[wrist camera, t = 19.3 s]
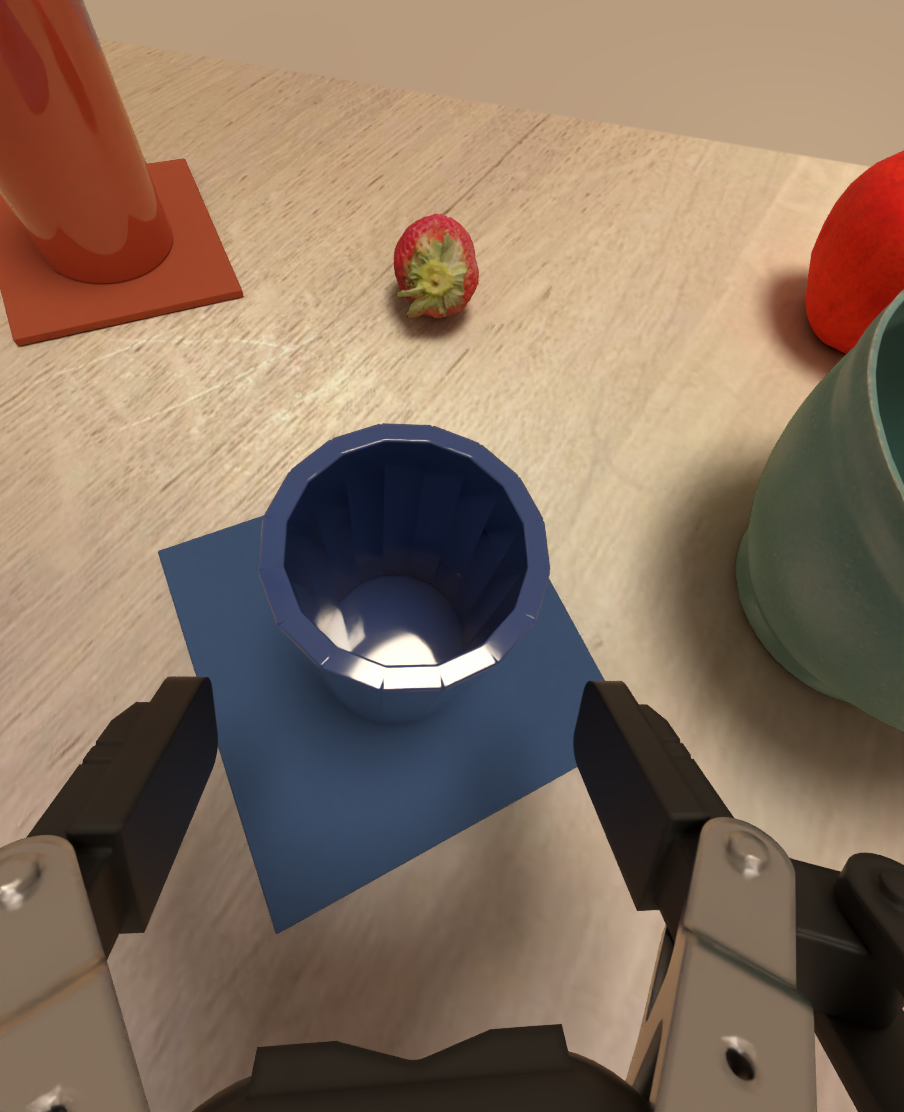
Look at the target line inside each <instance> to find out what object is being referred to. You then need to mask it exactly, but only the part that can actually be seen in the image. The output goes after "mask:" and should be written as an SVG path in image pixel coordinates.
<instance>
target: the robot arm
mask: <svg viewBox="0 0 904 1112" xmlns="http://www.w3.org/2000/svg"><path fill="white" fill-rule="evenodd" d="M217 748H218V731H217V723H216V715H215V706H214V698H213V690H212V683H211V680H210V679H209V677H167V678H166V679H165V680H164V682H163V683H162V685H161V686H160V688H159V689H158V691H157V692H156V694H155V695H154V697H153V698H152V700H151V701H150V702H136V703H134V704H133V705H132V706H130V707H129V708H128V709H126V710H125V711H124V712H122V713H121V714H120V715H118V716H117V717H115V718H114V719H113V720H111V722H110V723H109V725H108V726H107V727H106V729H105V730H104V731H103V733H102V734H101V736H100V737H99V738H98V740H97V741H96V745H95V746H93V747H92V748H91V749H90V751H89V752H88V753H87V755H86V756H85V758H84V759H83V763H82V765H79V766H78V767H77V769H76V770H75V771H74V773H73V774H72V775H71V777H70V778H69V780H68V781H67V782H66V784H65V785H64V786H63V788H62V789H61V791H60V792H59V793H58V795H57V796H56V798H55V799H54V800H53V802H52V803H51V804H50V806H49V807H48V809H47V810H46V811H45V813H44V814H43V815H42V817H41V818H40V820H39V821H38V822H37V824H36V825H35V826H34V828H33V829H32V831H31V832H30V833H29V835H28V836H27V837H26V838H24V839H21V840H18V841H15V842H13V843H10V844H8V845H6V846H4V847H2V848H0V1112H150V1109H149V1106H148V1102H147V1099H146V1095H145V1092H144V1088H143V1085H142V1082H141V1078H140V1075H139V1071H138V1068H137V1064H136V1061H135V1057H134V1054H133V1050H132V1047H131V1043H130V1040H129V1036H128V1033H127V1030H126V1026H125V1023H124V1019H123V1016H122V1012H121V1009H120V1005H119V1002H118V998H117V995H116V991H115V988H114V984H113V981H112V978H111V974H110V971H109V967H108V964H107V959H108V957H109V955H110V953H111V950H112V948H113V946H114V944H115V942H116V939H117V937H118V935H119V934H127V933H144V932H145V929H146V927H147V925H148V922H149V920H150V918H151V915H152V913H153V910H154V908H155V906H156V903H157V901H158V898H159V896H160V894H161V891H162V889H163V886H164V884H165V882H166V879H167V877H168V874H169V872H170V870H171V867H172V865H173V862H174V860H175V858H176V855H177V853H178V850H179V848H180V846H181V843H182V841H183V838H184V836H185V834H186V831H187V829H188V827H189V824H190V822H191V819H192V817H193V815H194V812H195V810H196V807H197V805H198V803H199V800H200V798H201V795H202V793H203V791H204V788H205V786H206V783H207V781H208V779H209V776H210V774H211V771H212V769H213V766H214V763H215V759H216V755H217ZM573 750H574V756H575V761H576V764H577V767H578V769H579V771H580V774H581V776H582V779H583V781H584V783H585V786H586V788H587V791H588V793H589V796H590V798H591V800H592V803H593V805H594V808H595V810H596V813H597V815H598V817H599V820H600V822H601V825H602V827H603V829H604V832H605V834H606V837H607V839H608V842H609V844H610V846H611V849H612V851H613V854H614V856H615V859H616V861H617V863H618V866H619V868H620V871H621V873H622V875H623V878H624V880H625V883H626V885H627V888H628V890H629V892H630V895H631V897H632V900H633V902H634V905H635V907H636V909H637V911H646V910H660V912H661V914H662V916H663V919H664V921H665V923H666V925H665V928H664V930H663V933H662V936H661V941H660V945H659V950H658V954H657V958H656V963H655V967H654V972H653V976H652V980H651V985H650V989H649V994H648V998H647V1002H646V1007H645V1011H644V1016H643V1020H642V1024H641V1029H640V1033H639V1037H638V1040H637V1044H636V1048H635V1051H634V1054H633V1057H632V1061H631V1064H630V1067H629V1071H628V1074H627V1078H626V1081H624V1080H623V1079H622V1078H620V1077H619V1076H618V1075H616V1074H615V1073H614V1072H612V1071H610V1070H609V1069H607V1068H605V1067H604V1066H602V1065H600V1064H599V1063H597V1062H595V1061H593V1060H591V1059H588V1058H586V1057H584V1056H581V1055H579V1054H576V1053H573V1052H569V1051H568V1049H567V1045H566V1041H565V1036H564V1032H563V1028H562V1024H555V1025H542V1026H528V1027H515V1028H502V1029H490V1030H488V1031H486V1032H483V1033H481V1034H479V1035H476V1036H474V1037H472V1038H469V1039H467V1040H465V1041H463V1042H460V1043H458V1044H456V1045H453V1046H451V1047H449V1048H446V1049H444V1050H442V1051H439V1052H437V1053H435V1054H432V1055H430V1056H428V1057H425V1058H423V1059H419V1060H407V1059H403V1058H399V1057H395V1056H391V1055H388V1054H384V1053H380V1052H376V1051H372V1050H368V1049H365V1048H361V1047H357V1046H353V1045H349V1044H345V1043H342V1042H338V1041H330V1042H317V1043H304V1044H291V1045H277V1046H264V1047H257V1050H256V1055H255V1061H254V1066H253V1071H252V1076H250V1077H248V1078H245V1079H243V1080H241V1081H238V1082H236V1083H234V1084H233V1085H231V1086H229V1087H227V1088H226V1089H224V1090H222V1091H220V1092H219V1093H217V1094H215V1095H214V1096H213V1097H211V1098H210V1099H208V1100H207V1101H206V1102H204V1103H203V1104H201V1105H200V1106H199V1107H197V1108H196V1109H195V1110H194V1111H192V1112H817V1095H816V1065H815V1036H814V1032H815V1034H816V1036H817V1038H818V1039H819V1041H820V1043H821V1045H822V1047H823V1049H824V1050H825V1052H826V1054H827V1056H828V1058H829V1059H830V1061H831V1063H832V1065H833V1067H834V1069H835V1070H836V1072H837V1074H838V1076H839V1078H840V1080H841V1081H842V1083H843V1085H844V1087H845V1089H846V1091H847V1092H848V1094H849V1096H850V1098H851V1100H852V1102H853V1103H854V1105H855V1107H856V1109H857V1111H858V1112H904V1011H903V1010H902V1008H903V1007H904V865H902V864H900V863H899V862H896V861H894V860H892V859H890V858H887V857H884V856H881V855H877V854H873V853H858V854H854V855H852V856H851V857H850V858H849V859H848V861H847V862H846V864H845V866H844V868H843V870H842V871H841V872H840V871H836V870H832V869H829V868H825V867H821V866H817V865H813V864H809V863H806V862H802V861H798V860H794V859H791V858H789V857H788V855H787V854H786V852H785V851H784V850H783V849H782V847H781V846H780V845H779V844H778V843H777V842H776V841H775V840H774V839H773V838H771V837H770V836H769V835H768V834H766V833H765V832H763V831H762V830H760V829H759V828H757V827H755V826H753V825H751V824H749V823H747V822H744V821H742V820H738V819H735V818H734V817H733V816H732V814H731V813H730V811H729V810H728V808H727V807H726V805H725V804H724V803H723V801H722V800H721V798H720V797H719V795H718V794H717V792H716V791H715V790H714V788H713V787H712V785H711V784H710V782H709V781H708V779H707V778H706V776H705V775H704V774H703V772H702V771H701V769H700V768H699V766H698V765H697V763H696V762H695V761H694V759H691V755H690V753H689V752H688V750H687V749H686V747H685V746H684V745H683V743H680V739H679V737H678V736H677V734H676V733H675V732H674V730H673V729H672V727H671V726H670V724H669V723H668V721H667V720H666V719H664V718H663V717H662V716H661V715H659V714H658V713H657V712H656V711H654V710H653V709H652V708H651V707H649V706H648V705H639V704H638V703H637V701H636V700H635V698H634V696H633V695H632V693H631V692H630V690H629V689H628V687H627V686H626V684H625V683H624V682H622V681H588V682H587V683H586V685H585V687H584V691H583V695H582V699H581V704H580V708H579V713H578V717H577V722H576V726H575V731H574V736H573Z"/></svg>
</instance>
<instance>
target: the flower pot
mask: <svg viewBox="0 0 904 1112" xmlns="http://www.w3.org/2000/svg"><path fill="white" fill-rule="evenodd" d="M736 582H737V588H738V593H739V597H740V600H741V604H742V607H743V610H744V612H745V614H746V617H747V619H748V621H749V623H750V625H751V626H752V628H753V630H754V632H755V634H756V635H757V637H758V638H759V640H760V641H761V643H762V644H763V645H764V647H765V648H766V649H767V650H768V652H769V653H770V654H771V655H772V656H773V657H774V659H775V660H776V661H777V662H778V663H779V664H780V665H781V666H783V667H784V668H785V669H786V670H787V671H788V672H790V673H791V674H792V675H793V676H795V677H796V678H797V679H799V680H800V681H801V682H803V683H804V684H806V685H808V686H809V687H811V688H813V689H814V690H816V691H818V692H820V693H822V694H825V695H827V696H829V697H832V698H835V699H838V700H841V701H845V702H849V703H851V704H852V705H854V706H856V707H857V708H859V709H860V710H862V711H864V712H865V713H867V714H869V715H871V716H872V717H874V718H876V719H878V720H880V721H882V722H883V723H885V724H887V725H889V726H891V727H893V728H895V729H897V730H900V731H902V732H904V290H902V291H901V292H900V293H899V294H898V295H897V296H896V298H895V299H894V300H893V301H892V302H891V303H890V304H889V305H888V306H887V307H886V308H885V309H884V310H883V311H882V312H881V313H880V314H879V315H878V316H877V317H876V318H875V319H874V321H873V322H872V323H871V324H870V325H869V326H868V328H867V329H866V330H865V332H864V333H863V335H862V336H861V338H860V339H859V341H858V342H857V344H856V346H855V347H854V348H852V349H851V350H850V351H849V352H848V353H847V354H846V355H845V356H844V357H843V358H842V359H841V360H840V361H839V362H838V363H837V364H836V365H835V366H834V367H833V368H832V369H831V370H830V371H829V372H828V374H827V375H826V376H825V377H824V378H823V379H822V380H821V381H820V383H819V384H818V385H817V386H816V387H815V388H814V389H813V391H812V392H811V393H810V394H809V396H808V397H807V398H806V399H805V401H804V402H803V403H802V405H801V406H800V407H799V409H798V410H797V412H796V413H795V414H794V416H793V417H792V419H791V420H790V422H789V423H788V425H787V426H786V428H785V430H784V431H783V433H782V435H781V436H780V438H779V440H778V442H777V443H776V445H775V447H774V449H773V451H772V453H771V455H770V457H769V459H768V461H767V464H766V466H765V468H764V471H763V473H762V476H761V478H760V481H759V484H758V487H757V491H756V494H755V498H754V501H753V506H752V511H751V516H750V524H749V527H748V529H747V530H746V532H745V534H744V535H743V537H742V540H741V542H740V545H739V548H738V552H737V557H736Z"/></svg>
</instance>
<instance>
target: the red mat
mask: <svg viewBox="0 0 904 1112" xmlns="http://www.w3.org/2000/svg"><path fill="white" fill-rule="evenodd" d="M147 166H148V168H149V171H150V174H151V176H152V179H153V181H154V184H155V186H156V189H157V192H158V194H159V197H160V199H161V202H162V204H163V207H164V210H165V212H166V215H167V217H168V220H169V223H170V225H171V228H172V232H173V241H172V246H171V249H170V251H169V253H168V255H167V256H166V258H165V259H164V260H163V261H162V262H161V263H160V264H159V265H158V266H157V267H156V268H154V269H153V270H151V271H150V272H148V273H146V274H144V275H142V276H140V277H137V278H135V279H132V280H128V281H124V282H118V283H109V284H95V283H86V282H82V281H77V280H74V279H71V278H69V277H66V276H64V275H62V274H60V273H59V272H57V271H56V270H54V269H53V268H52V267H51V266H49V265H48V264H47V262H46V261H45V260H44V259H43V257H42V256H41V254H40V253H39V251H38V250H37V248H36V247H35V245H34V244H33V242H32V241H31V239H30V238H29V236H28V235H27V233H26V232H25V230H24V229H23V227H22V226H21V224H20V223H19V221H18V220H17V218H16V217H15V215H14V214H13V212H12V211H11V209H10V208H9V206H8V205H7V203H6V202H5V200H4V199H3V197H2V196H1V194H0V289H1V293H2V297H3V301H4V305H5V309H6V313H7V317H8V321H9V325H10V329H11V333H12V337H13V340H14V341H15V343H16V344H17V345H18V346H21V345H26V344H30V343H35V342H39V341H44V340H48V339H53V338H57V337H62V336H66V335H71V334H75V333H80V332H85V331H89V330H94V329H98V328H103V327H107V326H112V325H116V324H121V323H125V322H130V321H134V320H139V319H143V318H148V317H152V316H157V315H161V314H166V313H170V312H175V311H179V310H184V309H188V308H193V307H197V306H202V305H206V304H211V303H216V302H220V301H225V300H229V299H234V298H238V297H243V292H242V289H241V287H240V285H239V282H238V280H237V278H236V275H235V273H234V271H233V268H232V266H231V264H230V261H229V259H228V257H227V255H226V252H225V250H224V248H223V245H222V243H221V241H220V238H219V236H218V234H217V232H216V229H215V227H214V225H213V222H212V220H211V218H210V215H209V213H208V211H207V208H206V206H205V204H204V202H203V199H202V197H201V195H200V192H199V190H198V188H197V185H196V183H195V181H194V179H193V176H192V174H191V172H190V169H189V167H188V165H187V162H186V160H185V159H177V160H170V161H163V162H157V163H150V164H147Z"/></svg>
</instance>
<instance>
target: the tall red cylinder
mask: <svg viewBox="0 0 904 1112" xmlns="http://www.w3.org/2000/svg"><path fill="white" fill-rule="evenodd" d="M0 194H1V196H2V197H3V199H4V200H5V202H6V203H7V205H8V206H9V208H10V209H11V211H12V212H13V214H14V215H15V217H16V218H17V220H18V221H19V223H20V224H21V226H22V227H23V229H24V230H25V232H26V233H27V235H28V236H29V238H30V239H31V241H32V242H33V244H34V245H35V247H36V248H37V250H38V251H39V253H40V254H41V256H42V257H43V259H44V260H45V261H46V262H47V264H48V265H49V266H51V267H52V268H53V269H54V270H56V271H57V272H59V273H60V274H62V275H64V276H66V277H69V278H71V279H74V280H77V281H82V282H86V283H95V284H109V283H118V282H124V281H128V280H132V279H135V278H137V277H140V276H142V275H144V274H146V273H148V272H150V271H151V270H153V269H154V268H156V267H157V266H158V265H159V264H160V263H161V262H162V261H163V260H164V259H165V258H166V256H167V255H168V253H169V251H170V249H171V246H172V241H173V232H172V228H171V225H170V223H169V220H168V217H167V215H166V212H165V210H164V207H163V204H162V202H161V199H160V197H159V194H158V192H157V189H156V186H155V184H154V181H153V179H152V176H151V174H150V171H149V168H148V166H147V163H146V161H145V158H144V156H143V153H142V150H141V148H140V145H139V143H138V140H137V138H136V135H135V132H134V130H133V127H132V125H131V122H130V120H129V117H128V114H127V112H126V109H125V107H124V104H123V102H122V99H121V96H120V94H119V91H118V89H117V86H116V84H115V81H114V78H113V76H112V73H111V71H110V68H109V66H108V63H107V60H106V58H105V55H104V53H103V50H102V47H101V45H100V42H99V40H98V37H97V35H96V32H95V29H94V27H93V25H92V22H91V19H90V17H89V14H88V11H87V9H86V6H85V4H84V1H83V0H0Z"/></svg>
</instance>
